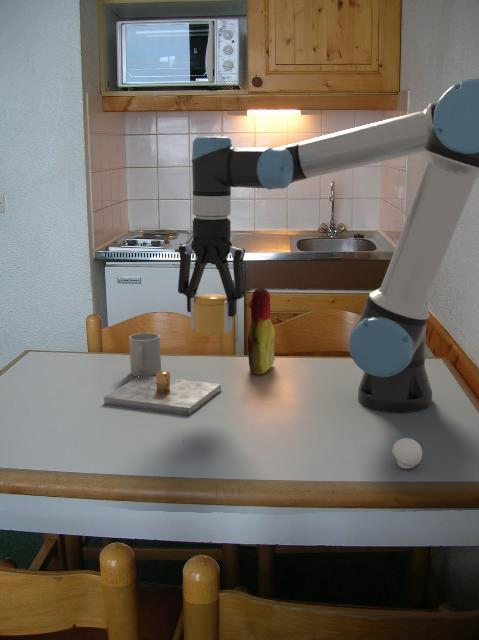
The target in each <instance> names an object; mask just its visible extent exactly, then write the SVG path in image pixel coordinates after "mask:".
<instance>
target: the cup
mask: <svg viewBox="0 0 479 640" xmlns="http://www.w3.org/2000/svg"><path fill="white" fill-rule="evenodd" d="M128 338H129V340H128V341H129V342H128V343H129V358H130V359H129V361H130V362H129V363H130V372H131V374H132V375H133V376H134V375H135V377H138V376H141V375H145V376H154V375H155V376H156V372H158V371H162V357H161V356H162V355H161V335H160V334H158V333H153V332H141V333H134V334H131V335H129V337H128ZM155 376H154V377H155Z"/></svg>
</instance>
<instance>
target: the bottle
mask: <svg viewBox="0 0 479 640" xmlns="http://www.w3.org/2000/svg"><path fill="white" fill-rule="evenodd" d="M251 296H252V297H251V303H250V306H251V307H250V310H251V311H250V319H251V320H250V321H251V323H250V326H249V328H248V330H247V331H248V332H247V352H248V367H249V370H250V371H251V372H252V373H253V374H255V375H263V374H265V373H266V372H267V371H268V370H270V369H271V368H272V366H273V365H274V361H276V360H275V342H276V341H275V339H276V337H275V336H276V331H275V326H274V325H273V323H272V319H271V296H270V291H268V290H267V289H265V288H262V287H261V288H256V289H254V291H253V293H252V295H251Z"/></svg>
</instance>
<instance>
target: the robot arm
mask: <svg viewBox="0 0 479 640" xmlns="http://www.w3.org/2000/svg"><path fill="white" fill-rule="evenodd" d="M421 153H422V154H423V153H424V155H425V157H426V159H427V164H426V168H425V170H424V173H423V175H422V177H421V181H420V183H419V186H418V188H417V192H416V193H415V197H414V199H413V202H412V203H411V206H410V209H409V211H408V213H407V217H406V219H405V222H404V225H403V227H402V230H401V233H400V235H399V238H398V241H397V244H396V247H395V249H394V252H393V254H392V256H391V259H390V261H389V265H388V267H387V269H386V272H385V275H384V277H383V280H382V283H381V285H380V287H379V288H377V289H374V290H372V291H370V292H369V294H368V296H367V299H366V301H365V304H364V307H363V309H362V312H361V314H360V317H359V320H358V323H356V324H355V325H354V327H353V328H352V330H351V332H350V334H349V335H350V336H349V338H348V339H349V340H348V350H349V354H350V356H351V358H352V360H353V362H354V363H355V365H356V366H357V367H358V368H359V369H360V370H362V371H363V375H362V378H361V380H360V383H359V385H358V389H357V390H358V391H357V392H358V395H357V396H358V397H357V399H358V402H359V403H361V404H362V405H363V406H365V407H368V408H370V409H373V410H377V411H382V412H389V413H411V412H418V411H421V410H425V409H427V408H429V407H430V406H431V405H432V403H433V391H432V386H431V383H430V379H429V377H428V372H427V369H426V367H425V366H426V365H425V364H426V363H425V362H426V343H427V342H426V339H427V323H428V320H429V317H430V312H429V307H428V298H429V296H430V293H431V290H432V288H433V285H434V283H435V281H436V279H437V277H438V274H439V271H440V269H441V266H442V264H443V261H444V259H445V256H446V253H447V251H448V250H449V249H448V248H449V247H450V244H451V241H452V240H453V237H454V234H455V231H456V229H457V227H458V224H459V222H460V219H461V217H462V214H463V212H464V210H465V207H466V204H467V202H468V199H469V197H470V195H471V192H472V190H473V187H474V186H475V183H476V180H477V179H478V178H479V78H470V79H465V80H462V81H459V82H457V83H455V84H453V85H452V86H451V87H449V88H448V89H447V90H446V91H444V93H442V96H440V98H438V100H437V101H433V102H430V103H429V104H428V105H427V107H426V108H425V109H423V110H420V111H416V112H412V113H408V114H404V115H401V116H396V117H392V118H389V119H385V120H382V121H377V122H374V123H369V124H365V125H362V126H361V125H360V126H357V127H354V128H349V129H345V130H340V131H338V132H334V133H330V134H326V135H321V136H319V137H318V136H317V137H313V138H311V139H310V138H309V139H308V140H303V141H299V142H294V143H289V144H286V145H282V146H278V147H275V146H274V147H235V146H233V144H232V140H231V138H230V137H229V136H198V137H196V138H194V140H193V143H192V158H191V165H192V167H191V168H192V215H193V216H194V217H193V219H192V241H191V242H190V243H189V244H186V243H185V244H181V245H179V246H178V253H179V257H180V259H179V260H180V261H179V271H178V273H179V275H178V285H177V293H178V294H182V295H184V296H185V297H186V310H187V313H190V330H194V302H195V297H196V296H197V295H198V290H199V286H200V283H201V280H202V278H203V277H202V276H203V274H204V271H205V268H206V266H207V265H208V264H211V265H213V266H214V265H215V268H216V270H217V271H218V273H219V277H220V280H221V283H222V286H223V290H224V292H225V296H227V300H226V301H224V333H225V334H229V332H232V331H233V317H234V316H236V315H237V301H238V300H240V299H242V298H244V297H246V281H245V268H244V267H245V266H244V257H245V254H246V249H245V248H244V247H242V248H238V247H235V246H233V244H232V242H231V227H232V226H231V222H232V221H231V219H230V217H228V216H230V215H231V211H232V210H231V209H232V208H231V206H232V205H231V204H232V203H231V199H232V197H231V194H232V193H231V192H232V191H231V189H232V188H249V189H250V188H252V189H267V190H278V189H280V190H282V189H286V188H288V186H290V184H293V183H295V182H298V181H303V180H307V179H312V178H316V177H320V176H324V175H328V174H333V173H338V172H342V171H346V170H351V169H355V168H360V167H365V166H370V165H373V164H377V163H381V162H386V161H391V160H395V159H400V158H403V157H407V156H413V155H417V154H421ZM193 252H194V254H195V256H196V259H195V262H194V268H193V271H192V274H191V264H192V263H191V261H192V254H193ZM230 254H231V258H232V267H233V278H232V274H231V272H230V268H229V261H228V258H227V257H228V255H230ZM190 274H191V276H190ZM190 277H191V278H190ZM233 279H234V280H233Z"/></svg>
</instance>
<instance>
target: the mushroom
mask: <svg viewBox="0 0 479 640" xmlns="http://www.w3.org/2000/svg"><path fill="white" fill-rule="evenodd" d="M391 451H392V454H393V456H394V458H395V459H396V463H397V465H398V466H399V467H400V468H401V469H404V470H409V469H413V468H414V467H416V466H417V465H419V463H420V462H421V461H422V458H423V449H422V447H421V445H420V444H419V442H417V441H416V440H415V439H413V438H409V437H403V438H400V439H398V440H396V441H395V443H394V444H393V446H392V450H391Z"/></svg>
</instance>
